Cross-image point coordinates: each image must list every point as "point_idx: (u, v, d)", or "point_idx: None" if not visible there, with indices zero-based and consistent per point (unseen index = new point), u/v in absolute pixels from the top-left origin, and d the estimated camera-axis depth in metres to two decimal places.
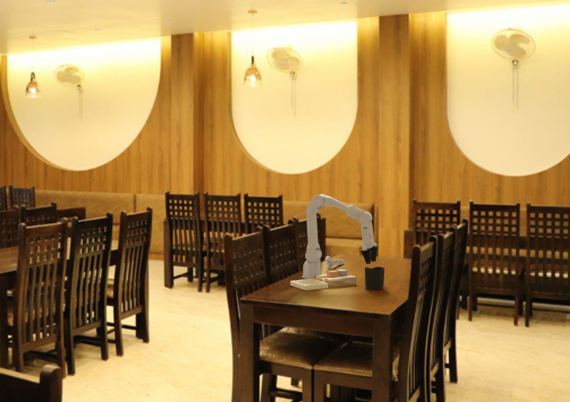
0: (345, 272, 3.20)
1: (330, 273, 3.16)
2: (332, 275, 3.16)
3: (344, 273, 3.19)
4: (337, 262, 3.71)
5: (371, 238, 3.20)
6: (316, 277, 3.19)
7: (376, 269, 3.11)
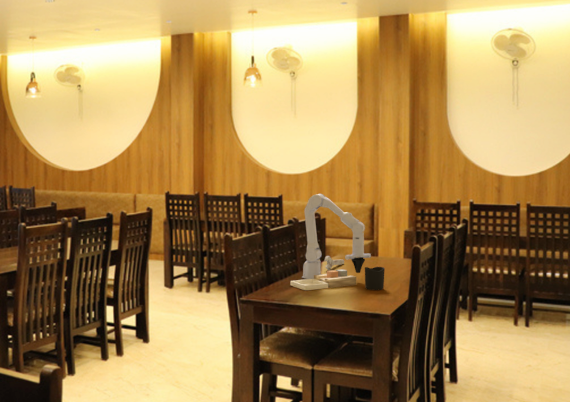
0: (345, 272, 3.20)
1: (330, 273, 3.16)
2: (332, 275, 3.16)
3: (344, 273, 3.19)
4: (336, 262, 3.71)
5: (358, 249, 3.22)
6: (316, 277, 3.19)
7: (376, 269, 3.11)
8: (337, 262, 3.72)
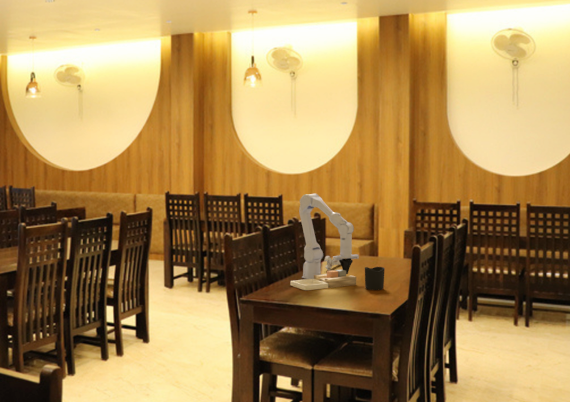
0: (344, 272, 3.19)
1: (330, 273, 3.16)
2: (332, 275, 3.16)
3: (342, 273, 3.19)
4: (336, 262, 3.71)
5: (346, 250, 3.19)
6: (316, 277, 3.19)
7: (376, 269, 3.11)
8: (337, 262, 3.72)
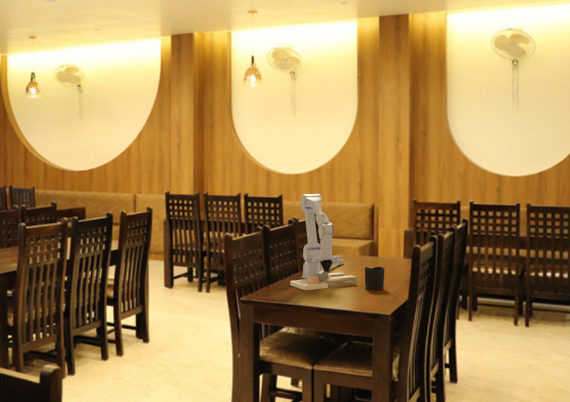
0: (326, 274, 3.13)
1: None
2: None
3: (324, 275, 3.13)
4: (336, 262, 3.72)
5: (326, 251, 3.13)
6: None
7: (376, 269, 3.11)
8: (337, 262, 3.72)
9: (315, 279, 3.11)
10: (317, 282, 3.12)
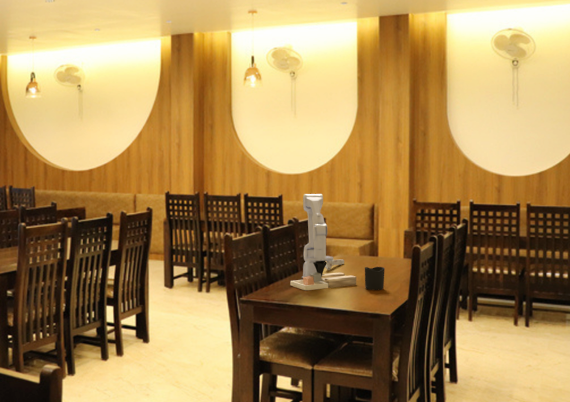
0: (319, 275, 3.11)
1: None
2: (311, 284, 3.10)
3: (317, 277, 3.11)
4: (336, 262, 3.72)
5: (320, 252, 3.11)
6: None
7: (376, 269, 3.11)
8: (337, 262, 3.72)
9: (310, 279, 3.10)
10: (312, 282, 3.10)
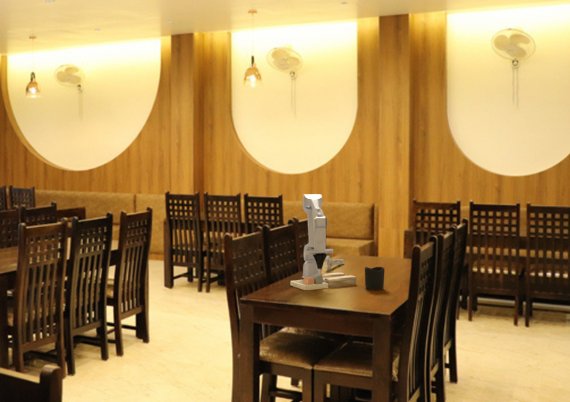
0: (320, 277, 3.12)
1: None
2: None
3: (319, 279, 3.11)
4: (336, 262, 3.72)
5: (319, 244, 3.11)
6: None
7: (376, 269, 3.11)
8: (337, 262, 3.72)
9: (310, 280, 3.10)
10: (312, 283, 3.11)
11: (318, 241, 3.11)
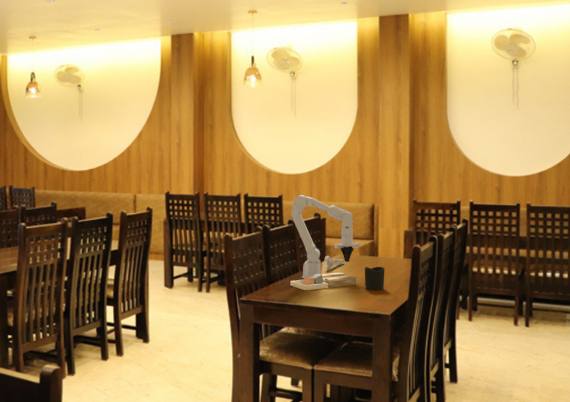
0: (320, 277, 3.12)
1: None
2: None
3: (319, 279, 3.11)
4: (336, 262, 3.72)
5: (347, 238, 3.27)
6: None
7: (376, 269, 3.11)
8: (337, 262, 3.72)
9: (310, 280, 3.10)
10: (312, 283, 3.11)
11: (345, 235, 3.27)
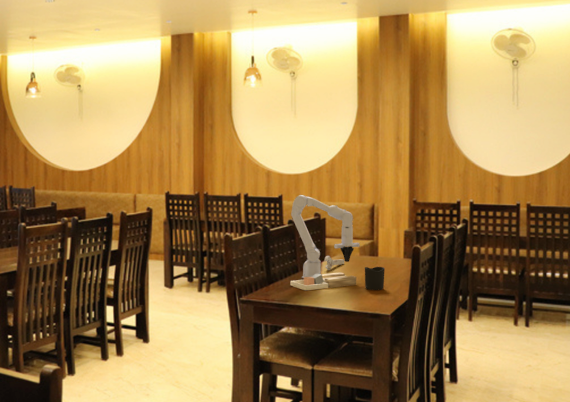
0: (320, 277, 3.12)
1: None
2: None
3: (319, 279, 3.11)
4: (337, 262, 3.72)
5: (347, 238, 3.27)
6: None
7: (376, 269, 3.11)
8: (337, 262, 3.73)
9: (310, 280, 3.10)
10: (312, 283, 3.11)
11: (345, 235, 3.27)
